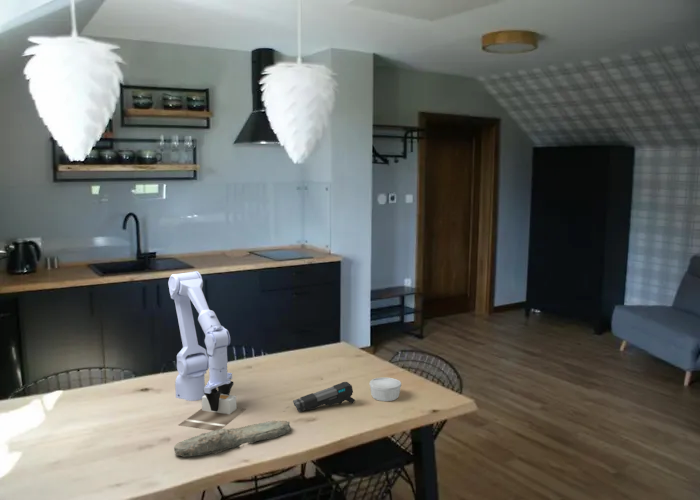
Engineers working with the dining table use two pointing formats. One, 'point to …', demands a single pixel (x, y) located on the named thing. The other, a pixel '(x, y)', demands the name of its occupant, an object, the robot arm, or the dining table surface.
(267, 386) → the dining table surface
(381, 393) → the ramekin
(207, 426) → the subfloor panel
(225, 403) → the block
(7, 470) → the dining table surface
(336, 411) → the dining table surface
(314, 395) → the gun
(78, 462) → the dining table surface
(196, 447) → the long grey stone
